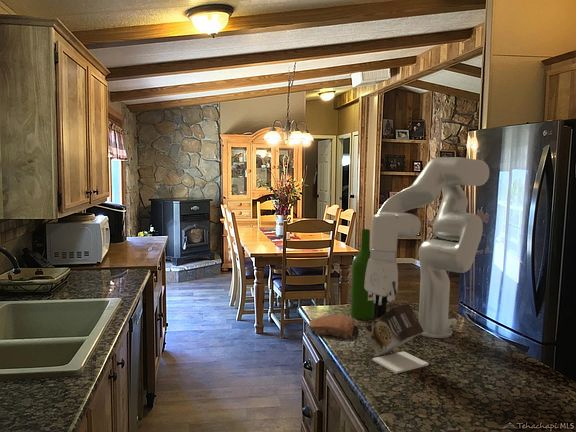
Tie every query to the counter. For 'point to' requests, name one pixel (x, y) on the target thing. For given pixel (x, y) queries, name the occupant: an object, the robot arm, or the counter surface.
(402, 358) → the white flat panel
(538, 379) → the counter surface
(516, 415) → the counter surface
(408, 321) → the coffee box
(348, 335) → the ceramic shard
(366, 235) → the wine bottle
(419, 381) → the counter surface
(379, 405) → the counter surface
